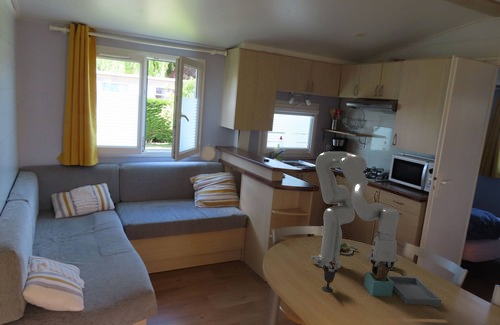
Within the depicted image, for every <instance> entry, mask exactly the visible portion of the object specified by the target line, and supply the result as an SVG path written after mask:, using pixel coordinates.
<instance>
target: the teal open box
mask: <svg viewBox="0 0 500 325" xmlns="http://www.w3.org/2000/svg"><path fill="white" fill-rule="evenodd" d="M372 274H373V272H372V271H371V272H370V271H365V277H364V282H363V286H364V287H365V288H366V290H367V291H368V293H370V295H371V296H372V297H374V296H375V297H376V296H377V297H393V296H392V295H393V285H394V283H393V282H392V280H391V279H390V278H389V277H388V276H389V275H387V276H386V281H375V279H374V278H373V277H372Z"/></svg>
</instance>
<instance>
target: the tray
mask: <svg viewBox="0 0 500 325" xmlns="http://www.w3.org/2000/svg"><path fill="white" fill-rule="evenodd" d="M387 276H388V277H389V278H390V279H391V280H392V282H393V283H394V285H393V291H394V293H395V294H396V296H398V298H399V299H401V301H402V303H404V304H405V305H426V306H427V305H429V306H432V307H434V308H440V307H441V305H442V299H441V298H440V297H439V296H438V295H437V294H436V293H435V292H433V290H431V288H430V287H428V286H427V285H426V284H425V283H424V282H423V281H422V280H420V279H419V277H417V276H406V275H404V276H403V275H387ZM393 291H392V292H393Z"/></svg>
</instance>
